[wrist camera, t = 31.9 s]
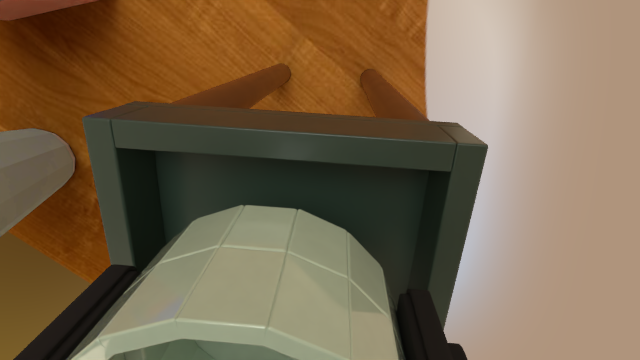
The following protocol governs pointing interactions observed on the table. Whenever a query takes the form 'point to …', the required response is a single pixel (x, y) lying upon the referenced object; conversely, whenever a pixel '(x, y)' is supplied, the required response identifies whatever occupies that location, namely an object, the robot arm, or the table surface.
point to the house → (33, 7)
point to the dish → (253, 295)
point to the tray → (291, 174)
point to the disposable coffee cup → (30, 171)
